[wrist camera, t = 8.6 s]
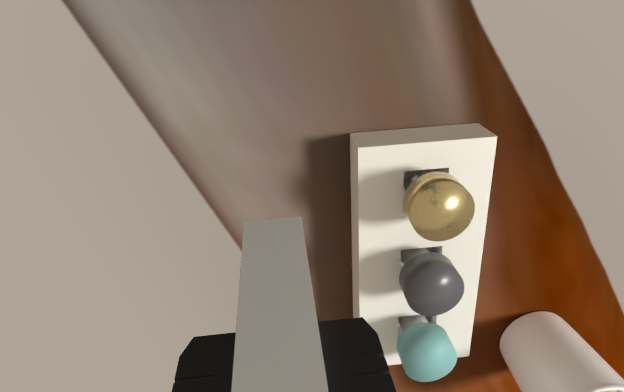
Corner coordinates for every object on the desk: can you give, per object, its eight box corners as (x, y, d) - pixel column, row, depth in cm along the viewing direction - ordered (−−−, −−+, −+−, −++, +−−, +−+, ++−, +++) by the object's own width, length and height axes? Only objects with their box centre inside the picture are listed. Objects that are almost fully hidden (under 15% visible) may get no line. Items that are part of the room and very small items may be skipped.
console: (349, 133, 42) (358, 147, 39) (477, 122, 43) (497, 136, 39) (353, 341, 53) (359, 368, 49) (455, 330, 54) (469, 356, 50)
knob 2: (386, 297, 49) (404, 344, 43) (435, 292, 49) (459, 338, 43) (385, 335, 51) (402, 384, 45) (431, 330, 51) (454, 378, 45)
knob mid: (388, 231, 45) (407, 270, 39) (439, 226, 46) (467, 264, 40) (387, 274, 48) (405, 318, 42) (436, 269, 48) (461, 312, 42)
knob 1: (390, 155, 42) (412, 186, 36) (446, 151, 42) (478, 180, 36) (389, 207, 44) (409, 244, 38) (442, 202, 44) (471, 238, 38)
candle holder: (587, 314, 55) (667, 397, 44) (544, 374, 58) (608, 464, 48) (518, 297, 53) (584, 380, 42) (478, 360, 56) (529, 451, 45)
